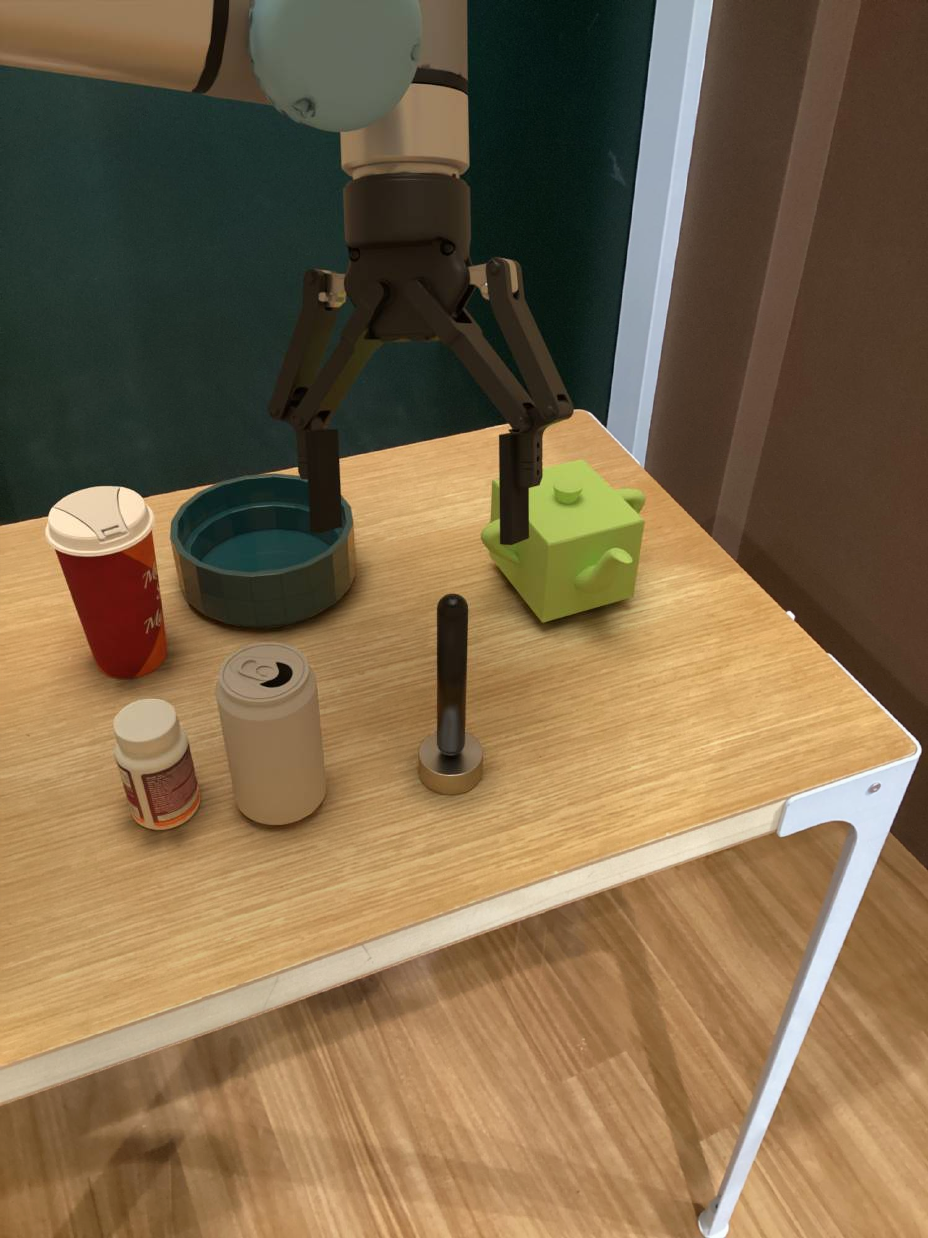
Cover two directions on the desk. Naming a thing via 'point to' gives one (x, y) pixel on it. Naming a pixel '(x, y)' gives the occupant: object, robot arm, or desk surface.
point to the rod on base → (451, 708)
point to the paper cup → (112, 576)
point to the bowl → (260, 552)
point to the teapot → (571, 542)
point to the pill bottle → (155, 764)
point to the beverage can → (272, 732)
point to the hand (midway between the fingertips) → (416, 535)
